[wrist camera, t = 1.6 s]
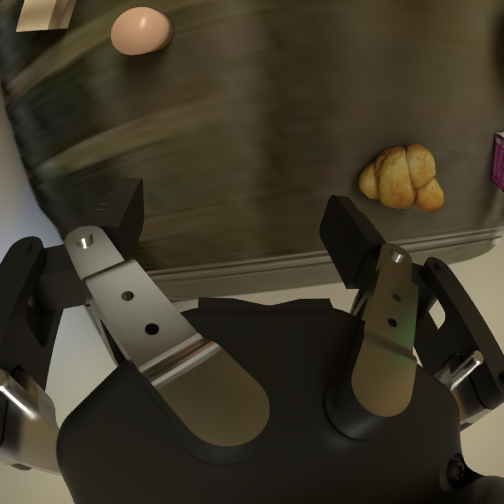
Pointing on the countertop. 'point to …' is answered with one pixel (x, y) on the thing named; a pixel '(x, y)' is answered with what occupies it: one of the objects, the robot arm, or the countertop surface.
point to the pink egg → (141, 31)
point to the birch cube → (45, 14)
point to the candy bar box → (498, 161)
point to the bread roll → (403, 179)
